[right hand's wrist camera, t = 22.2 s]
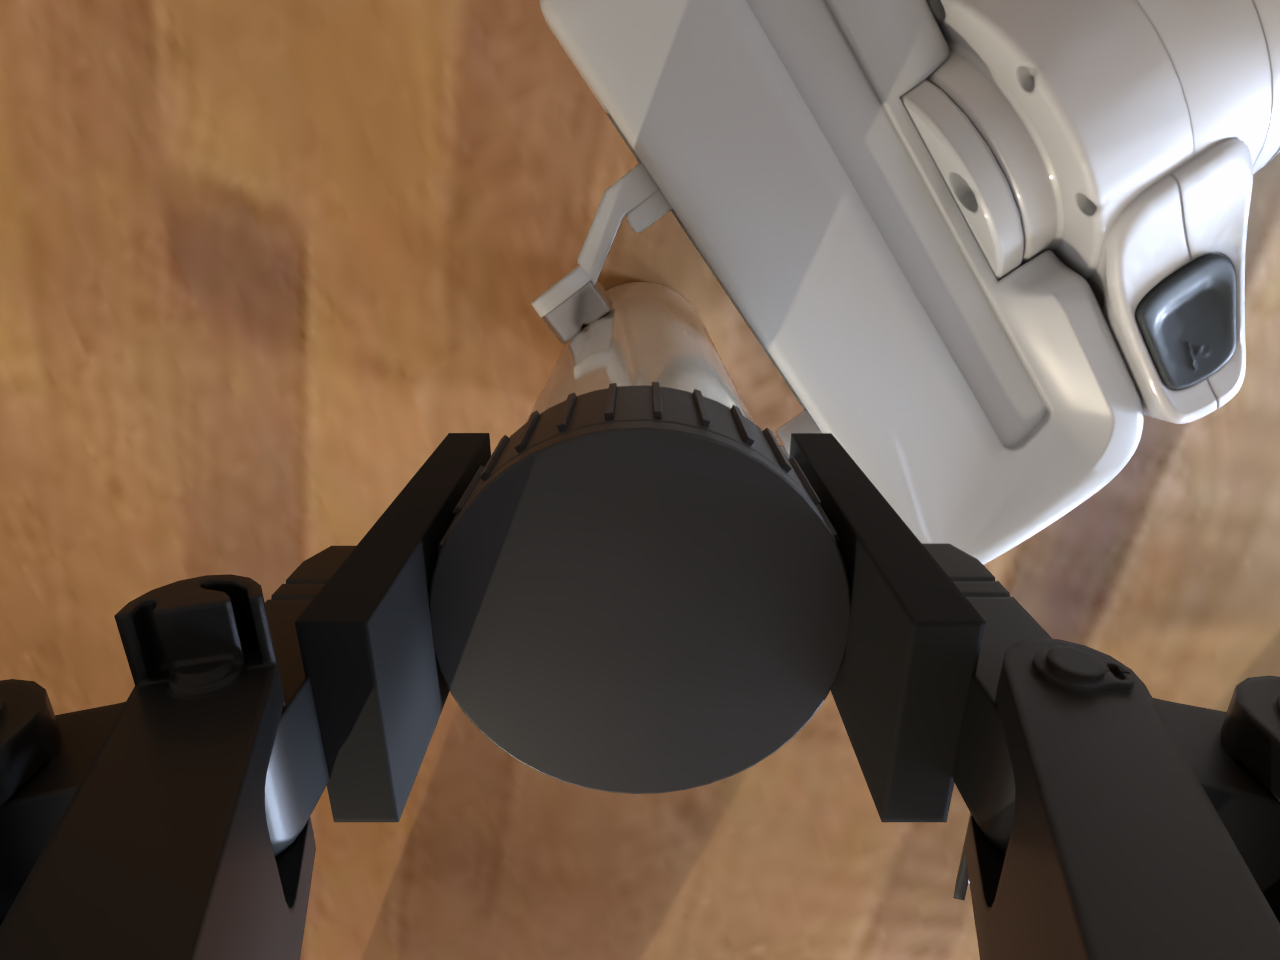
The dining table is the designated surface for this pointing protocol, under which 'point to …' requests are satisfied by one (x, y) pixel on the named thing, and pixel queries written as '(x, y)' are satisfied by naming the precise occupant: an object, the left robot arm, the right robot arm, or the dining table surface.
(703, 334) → the jar
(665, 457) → the lid
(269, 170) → the dining table surface
